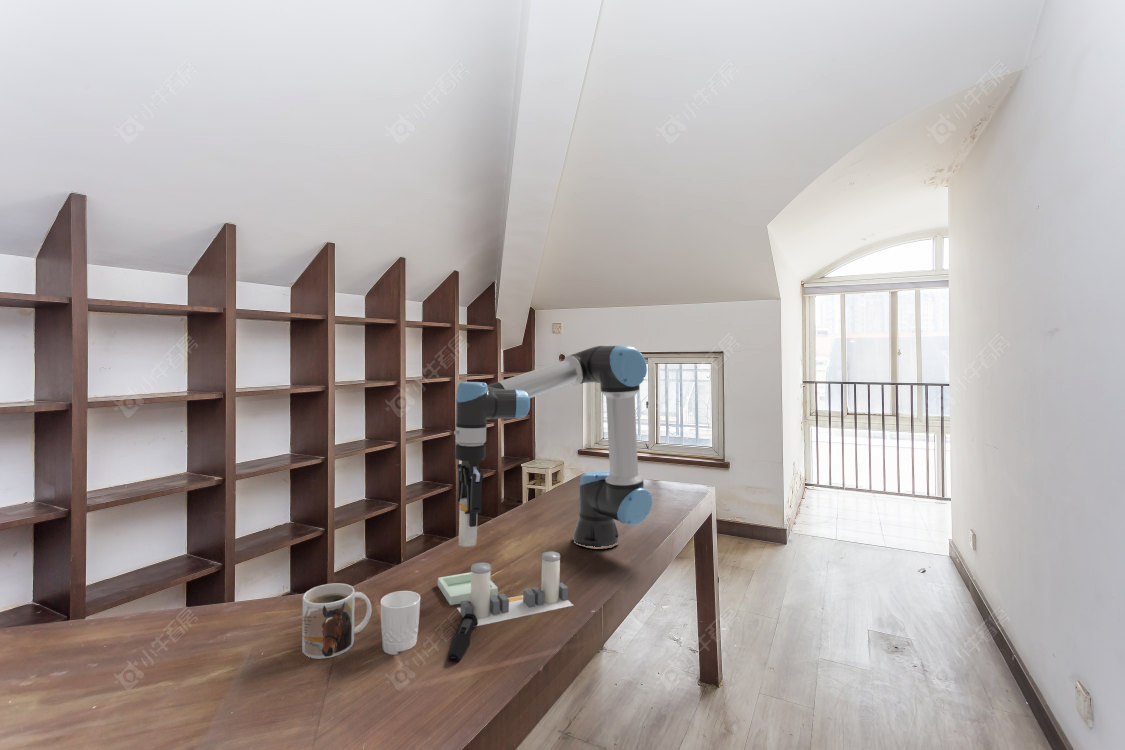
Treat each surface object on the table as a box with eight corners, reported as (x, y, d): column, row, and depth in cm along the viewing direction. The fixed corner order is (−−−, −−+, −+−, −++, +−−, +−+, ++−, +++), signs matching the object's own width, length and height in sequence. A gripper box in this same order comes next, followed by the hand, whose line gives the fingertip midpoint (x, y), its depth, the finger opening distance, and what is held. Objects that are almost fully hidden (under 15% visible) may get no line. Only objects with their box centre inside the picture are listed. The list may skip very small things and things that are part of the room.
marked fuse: (473, 539, 139) (474, 496, 138) (478, 545, 135) (480, 501, 134) (456, 541, 137) (457, 498, 136) (461, 547, 133) (462, 502, 132)
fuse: (486, 607, 127) (487, 561, 127) (492, 616, 123) (493, 568, 123) (467, 611, 125) (468, 564, 125) (473, 620, 121) (474, 571, 121)
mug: (318, 630, 116) (318, 580, 116) (373, 633, 116) (373, 582, 116) (292, 658, 106) (293, 602, 105) (352, 660, 105) (353, 605, 105)
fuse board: (555, 591, 139) (555, 577, 139) (574, 608, 130) (574, 593, 130) (456, 611, 127) (456, 595, 127) (469, 631, 118) (469, 614, 118)
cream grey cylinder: (553, 594, 136) (555, 550, 135) (562, 601, 132) (563, 556, 131) (537, 597, 134) (538, 553, 133) (545, 605, 130) (546, 559, 129)
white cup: (389, 661, 106) (390, 611, 105) (373, 644, 111) (374, 597, 111) (426, 648, 111) (427, 600, 110) (409, 632, 117) (410, 587, 116)
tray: (482, 580, 144) (482, 570, 144) (497, 599, 134) (498, 588, 134) (437, 588, 139) (437, 577, 139) (450, 608, 128) (450, 596, 128)
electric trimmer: (442, 668, 104) (442, 652, 104) (462, 622, 120) (462, 609, 119) (461, 669, 104) (462, 654, 104) (478, 623, 119) (479, 610, 119)
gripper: (446, 438, 141) (444, 526, 142) (466, 450, 125) (463, 548, 126) (474, 437, 144) (471, 523, 145) (496, 448, 129) (493, 544, 130)
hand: (468, 535), depth 136 cm, fingers closed on marked fuse, 4 cm apart
